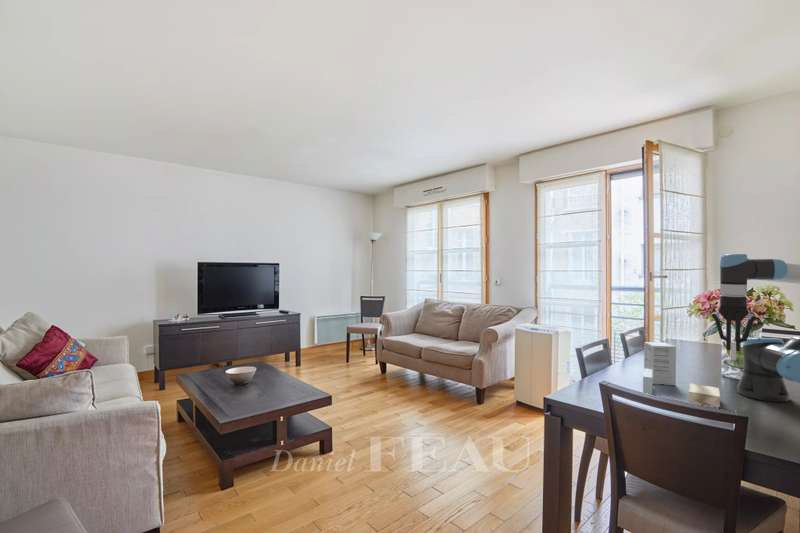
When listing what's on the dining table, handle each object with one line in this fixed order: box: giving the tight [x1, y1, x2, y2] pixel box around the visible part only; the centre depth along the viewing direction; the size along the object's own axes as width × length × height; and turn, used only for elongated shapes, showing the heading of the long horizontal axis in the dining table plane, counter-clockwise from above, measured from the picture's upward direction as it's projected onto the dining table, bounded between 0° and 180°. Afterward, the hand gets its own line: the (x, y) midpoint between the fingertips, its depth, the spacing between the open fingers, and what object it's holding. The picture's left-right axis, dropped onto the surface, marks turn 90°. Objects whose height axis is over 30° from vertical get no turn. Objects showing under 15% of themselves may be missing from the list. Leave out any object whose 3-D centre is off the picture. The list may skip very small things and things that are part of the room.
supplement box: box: [643, 341, 677, 386], centre depth 172 cm, size 10×9×17 cm
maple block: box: [688, 383, 721, 408], centre depth 147 cm, size 9×12×5 cm
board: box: [642, 367, 653, 395], centre depth 158 cm, size 3×14×8 cm, turn 146°
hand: (732, 359), depth 143 cm, fingers closed
